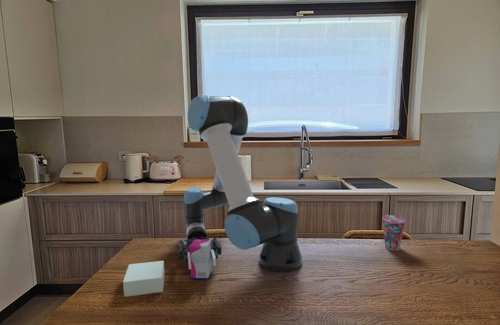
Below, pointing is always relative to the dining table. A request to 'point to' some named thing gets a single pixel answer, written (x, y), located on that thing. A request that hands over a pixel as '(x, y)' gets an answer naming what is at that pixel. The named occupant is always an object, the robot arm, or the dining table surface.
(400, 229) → the cup
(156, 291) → the base block
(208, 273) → the supplement box
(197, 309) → the dining table surface
